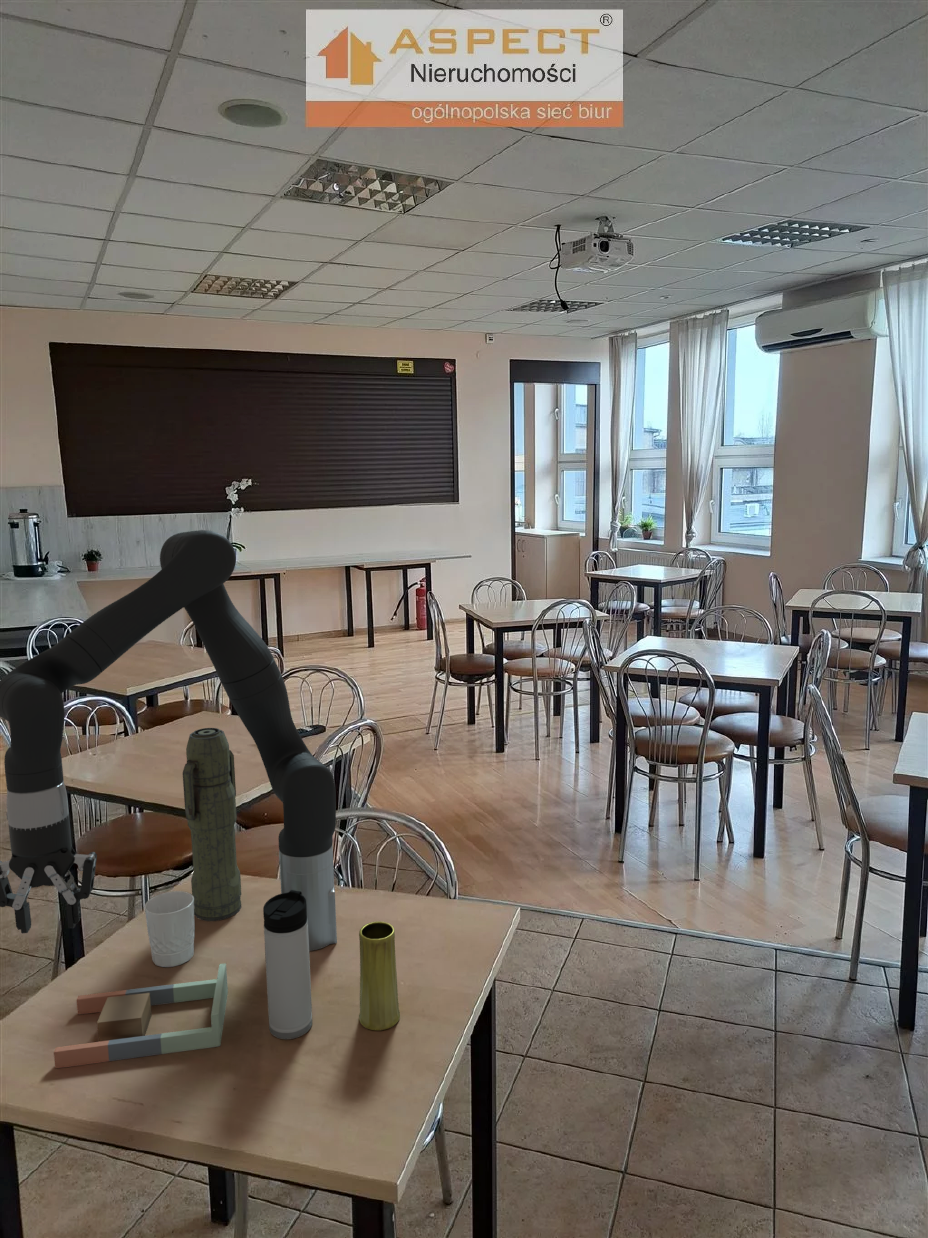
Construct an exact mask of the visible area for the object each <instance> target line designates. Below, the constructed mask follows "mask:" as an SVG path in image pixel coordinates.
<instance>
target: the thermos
mask: <svg viewBox="0 0 928 1238" xmlns="http://www.w3.org/2000/svg"><path fill="white" fill-rule="evenodd" d="M187 740H188V741H187V743H186V746H185V747H186V749H185V754H186V763H185V764H184V767H183V769H182V784H183V798H184V799H183V800H184V801H183V802H184V811H185V817H186V820H187V826H188V828H189V830H190V836H191V837H190V838H191V839H190V841H191V855H192V866H193V867H192V868H193V869H192V870H193V872H192V876H191V880H190V883H191V894H192V895H193V897H194V917H195V918H196V919H199V920H201V921H206V922H216V921H222V920H226V919H228V918H231V917H233V916H235V915H236V914H238V913H239V912H240V911H241V909H242V901H241V897H242V880H241V871H240V869H239V867H238V864H237V846H236V830H235V829H236V828H235V824H236V822H237V820H238V819H237V818H238V817H237V803H236V799H237V798H236V797H237V790H236V789H237V787H236V771H235V770H236V769H235V755H234V754H233V751H232V750H230V744H229V741H228V739H227V736H226V734H225V732H224V731H223V730H222V729H219V728H218V727H217V728H216V727H205V728H199V729H196V730H194V731H193V732H191V733H190V734H189V737H188V739H187Z"/></svg>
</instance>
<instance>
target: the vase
mask: <svg viewBox="0 0 928 1238" xmlns="http://www.w3.org/2000/svg"><path fill="white" fill-rule="evenodd" d="M358 937H359V938H358V939H359V962H360V963H359V973H360V976H359V1014H358V1019H359V1023H360V1024H361V1025H362V1026H363V1027H364V1028H365V1029H368V1030H370V1031H377V1032H378V1031H385V1030H388V1029H390V1028H392V1027H394V1026H395V1025H396V1024H397V1023H398V1022H399V1020H400V1017H401V1012H400V1006H399V994H398V992H399V991H398V976H397V973H398V972H397V961H396V960H397V959H396V958H397V957H396V956H397V955H396V944H395V943H396V942H395V941H396V940H395V939H396V935H395V927H394V926H393V925H392V924H391V923H389V922H386V921H380V920H379V921H372V922H368V923H366V924H364V925H363V926H362V927H361V928H360V929H359V932H358Z"/></svg>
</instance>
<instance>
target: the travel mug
mask: <svg viewBox="0 0 928 1238" xmlns="http://www.w3.org/2000/svg"><path fill="white" fill-rule="evenodd" d="M262 912H263V913H262V914H263V936H264V937H263V938H264V953H265V954H264V956H265V958H264V959H265V971H266V973H265V975H266V976H265V977H266V991H267V995H266V996H267V1010H268V1028H269V1032H270V1033H271V1035H272V1036H273V1037H276V1038H277V1039H281V1040H293V1039H297V1038H299V1037H301V1036H304V1035H305V1034H306V1033H307V1032H308V1031H310V1030H311V1028H312V1026H313V1013H312V1012H313V1007H312V1005H313V1004H312V987H311V983H312V982H311V967H310V966H311V963H310V960H311V959H310V951H309V938H308V919H307V902H306V898H305V897H304V896H303V895H302V892H301V891H295V890H290V891H289V892H288V893H282V894H281V893H279V894H276V895H274V896H271V898H269V899H268V900H267V901H266V902H265V903H264V904H263V911H262Z"/></svg>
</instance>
